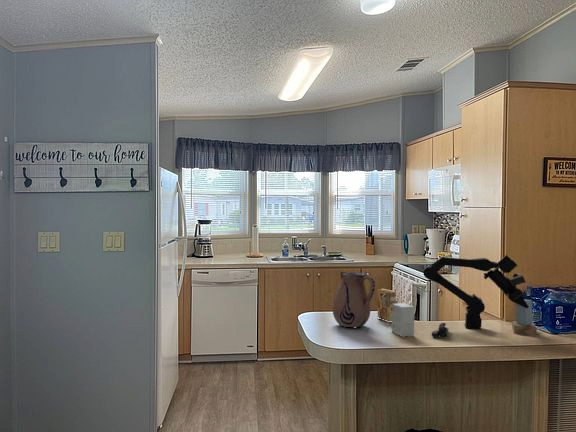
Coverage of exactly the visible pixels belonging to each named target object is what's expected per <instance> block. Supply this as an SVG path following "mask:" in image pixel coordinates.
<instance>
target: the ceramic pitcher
mask: <svg viewBox="0 0 576 432" xmlns="http://www.w3.org/2000/svg"><path fill="white" fill-rule="evenodd" d="M366 280H368V281H369V283H370V288H369V293H368V292H367V289H366V285H365V281H366ZM339 281H340V282H339V284H338V286H337V290H336V293H335V296H334V300H333V304H332V315H333V317H334V320H335V322H336V323H337V324H338V325H339V326H340V327H342V326H345V327H360V328H362V327H363V326H365V324H366V323H367V322H368V320H369V319H370V315H371V303H370V302H371V300H372V298H373V295H374V293H375V289H376V288H375V287H376V283H375V280H374V278H373V277H372V276H370V275H368V274H367V273H365V272H360V271H359V272H357V271H350V272H346V271H340V280H339ZM345 327H344V328H345Z"/></svg>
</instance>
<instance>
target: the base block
mask: <svg viewBox="0 0 576 432" xmlns="http://www.w3.org/2000/svg"><path fill="white" fill-rule="evenodd" d="M511 323H512V324H511V329H512V332H513V334H516V335H518V334H519V335H525V336H534V337H536V336H537V335H538V334H537V332H538V331H537V329H538V328H537V326H536V323H534V322H532V325H527V326H525V325H520V324H517V320H516V321H515V320H512V321H511Z"/></svg>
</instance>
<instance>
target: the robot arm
mask: <svg viewBox="0 0 576 432" xmlns="http://www.w3.org/2000/svg"><path fill="white" fill-rule="evenodd" d="M445 266H449V267H462V268H470V269H475V270H478V271H481V272H482V271H483V279H484V280H487V279H490V281H492V282H493V283H494V285H496V286H497V288H499V289H500V291H502V293H503V294H504V295H505V296H506V297H507V299H509V300H510V301H511V302H512V303H515V304H519V305H521V306H523V307H525V308H528V307H529V306H528V305H527V303H526V302H525V300H524V297H523V296H524V292H523V291H522V290H521V289H520V288H519V287H517V286H519V285H521V284H525V283H527V282H526V280H525V277H524V275H523V274H518V273H513V274H512V277H511V278H508V276H506V275H505V274H506V273H507V274H509V273H511V272H512V271H513V270H514V269H516V268H517V267H518V264H517V263H516V262H515V261H514V260H513V259H511V257H509V256H508V255H507V254H506V255H504V256H503V257H502V258H501V259H500V260H499V261H498V262H496V261H492V260H491V261H490V259H488V258H485V257H477V258H472V259H471V258H459V257H458V258H457V257H446V256H441V257H439V258H438V260H436V261H434V262H433V263H431V265H427V266H425V267H424V268H423V272H422V273H423V276H424V277H425V278H426V279H427V280H429V281H432V282H434V283H437V284H439V285H440V286H442V287H443V288H444V289H446V290H447V291H448V292H451V294H453V295H455V296H456V297H457V298H459V299H460V300H461V301H463V302H464V304H466V307H465V311H466V313H465V314H464V317H465V318H464V321H465V322H464V327H465V329H472V330H473V329H474V330H481V329H482V318H481V313H483V312H484V311H485V309H486V306H485V303H484V302H483V299H482V298H481V297H479V296H477V295H476V294H475V293H472V294H469V293H467V292H466V291H465V290H463V289H461V288H460V287H458V286H456V284H454V283H452V282H451V281H449V280H448V279H447V278H445V277H444V276H443V275H442V274H441V273H440V270H442V269H443V268H444V267H445Z"/></svg>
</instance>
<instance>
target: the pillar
mask: <svg viewBox="0 0 576 432" xmlns="http://www.w3.org/2000/svg"><path fill="white" fill-rule="evenodd" d="M523 299H524V298H523ZM524 300H525V302H526V303H527V305H528V306H529V307H528V308H525V307H523V306H521V305H519V304H516V303H515V304H516V307H515V308H516V321H517V324H520V325H525V326H527V325H532V323H533V306H532V305H533V304H532V303H533V302H532V299H524Z"/></svg>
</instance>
